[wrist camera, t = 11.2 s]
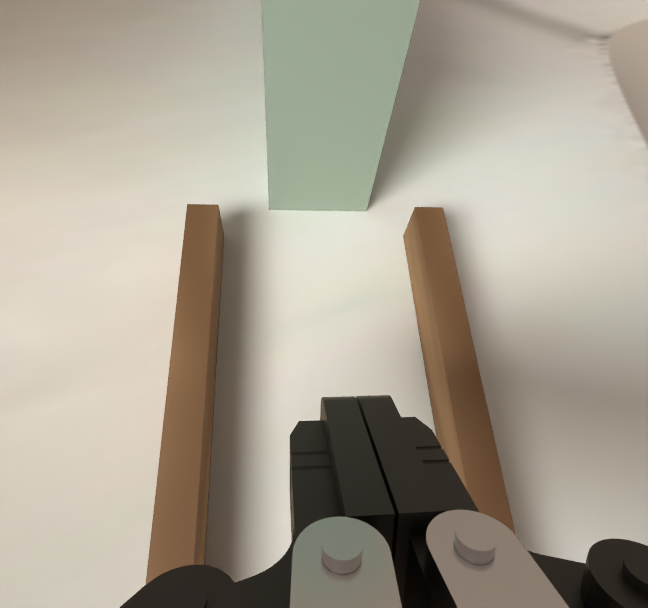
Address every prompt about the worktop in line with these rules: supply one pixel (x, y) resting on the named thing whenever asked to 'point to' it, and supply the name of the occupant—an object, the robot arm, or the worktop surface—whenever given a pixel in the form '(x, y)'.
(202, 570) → the robot arm
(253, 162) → the worktop surface
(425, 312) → the open frame
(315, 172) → the pale green rectangular block
